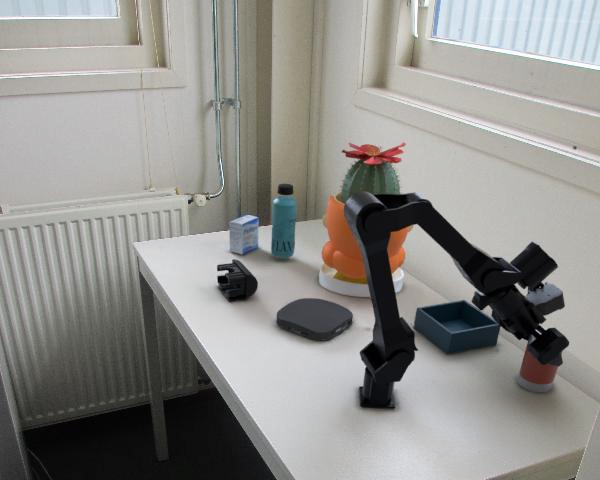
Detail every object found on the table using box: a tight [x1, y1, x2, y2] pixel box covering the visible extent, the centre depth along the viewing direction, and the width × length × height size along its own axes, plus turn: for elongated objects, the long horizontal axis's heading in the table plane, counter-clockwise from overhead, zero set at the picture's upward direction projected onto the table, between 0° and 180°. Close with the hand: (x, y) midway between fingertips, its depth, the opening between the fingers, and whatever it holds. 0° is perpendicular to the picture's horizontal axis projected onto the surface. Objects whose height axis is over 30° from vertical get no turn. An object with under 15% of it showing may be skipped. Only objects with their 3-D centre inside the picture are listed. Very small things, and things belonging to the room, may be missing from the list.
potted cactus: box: [318, 141, 415, 298], centre depth 162 cm, size 22×22×35 cm
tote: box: [413, 299, 502, 355], centre depth 150 cm, size 13×13×5 cm
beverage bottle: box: [270, 183, 298, 258], centre depth 179 cm, size 6×7×20 cm
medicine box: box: [228, 214, 260, 256], centre depth 186 cm, size 8×4×9 cm, turn 148°
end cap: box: [216, 258, 259, 303], centre depth 162 cm, size 10×7×7 cm
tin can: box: [517, 327, 564, 393], centre depth 133 cm, size 7×7×11 cm
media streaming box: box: [275, 297, 354, 341], centre depth 152 cm, size 15×15×3 cm
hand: (547, 352), depth 132 cm, fingers open, 9 cm apart
